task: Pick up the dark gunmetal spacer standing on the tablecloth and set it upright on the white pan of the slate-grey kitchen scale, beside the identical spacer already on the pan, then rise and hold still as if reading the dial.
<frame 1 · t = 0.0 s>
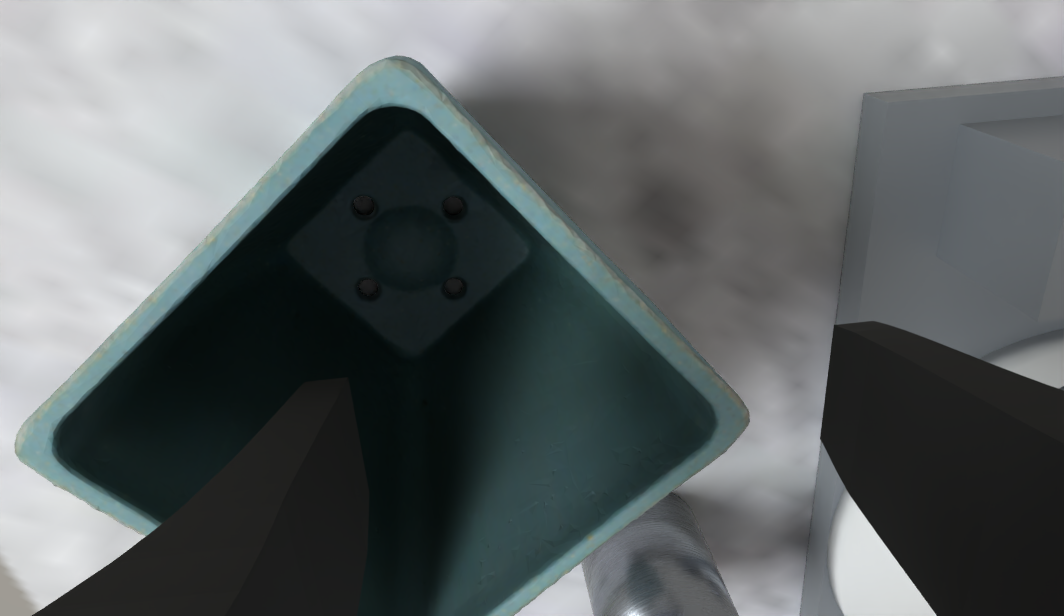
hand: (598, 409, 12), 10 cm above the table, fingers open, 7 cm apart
scale: (1026, 417, 26), on the table
flower pot: (415, 241, 21), on the table
spacer 2: (636, 536, 26), on the table
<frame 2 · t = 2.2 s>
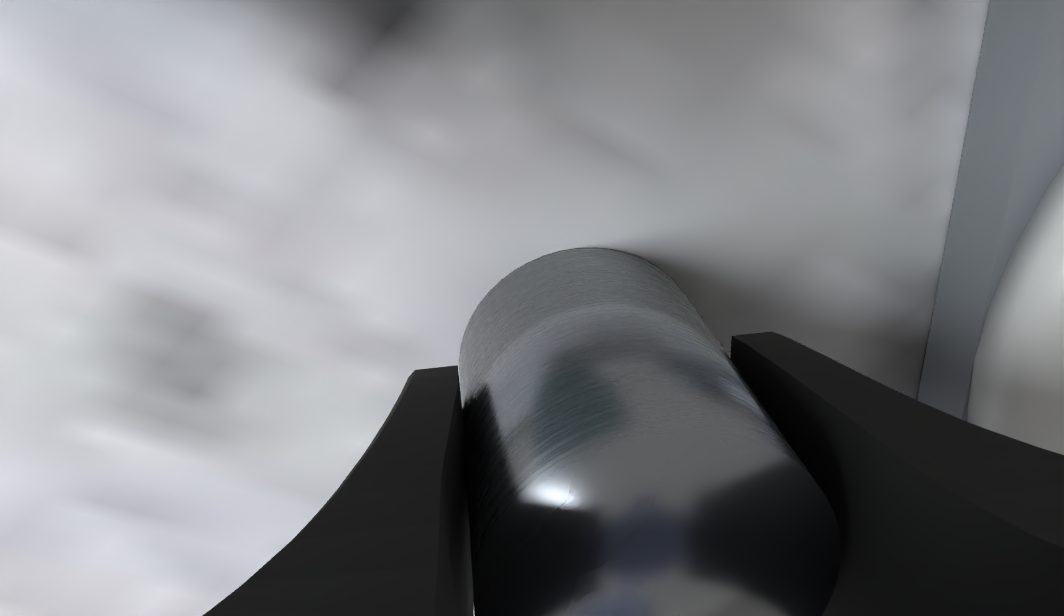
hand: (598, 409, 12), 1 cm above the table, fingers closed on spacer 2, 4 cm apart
spacer 2: (581, 361, 13), on the table, touching gripper
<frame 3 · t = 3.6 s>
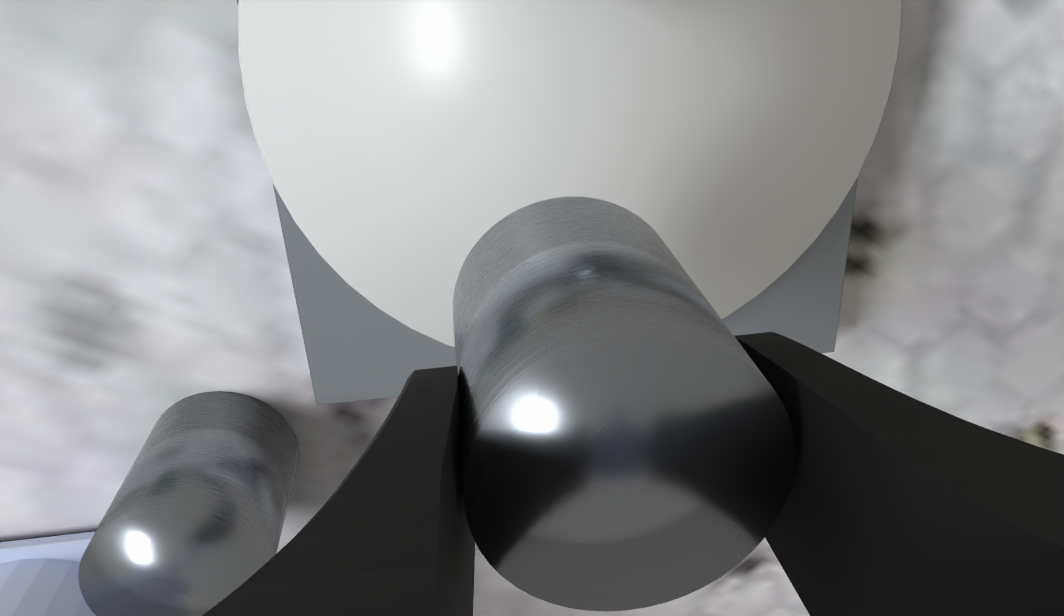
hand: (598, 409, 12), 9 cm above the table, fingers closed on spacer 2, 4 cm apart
spacer 3: (225, 452, 22), on the table
spacer 2: (567, 306, 14), point 7 cm above the table, touching gripper
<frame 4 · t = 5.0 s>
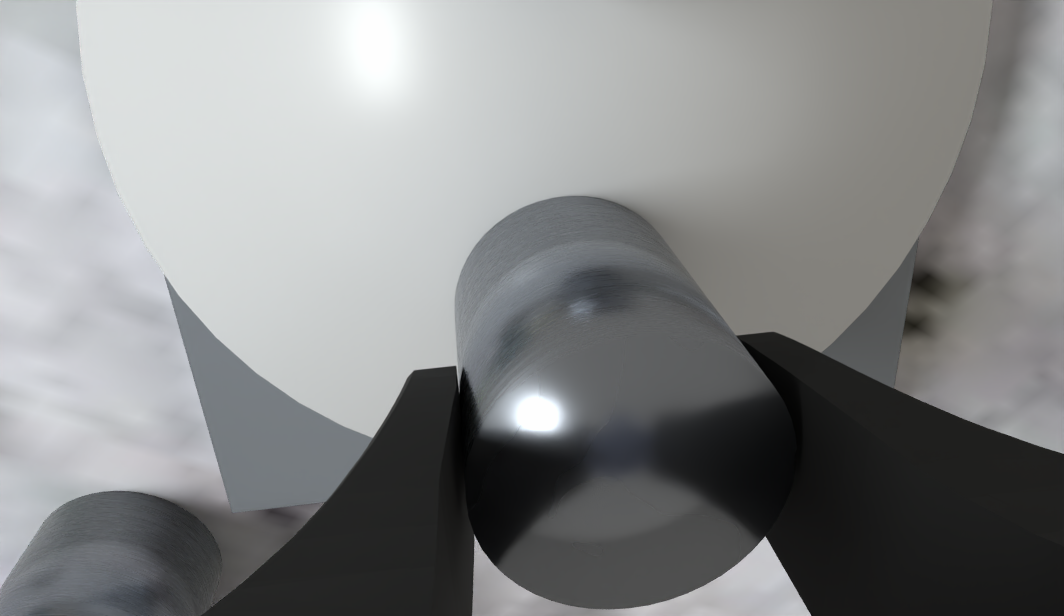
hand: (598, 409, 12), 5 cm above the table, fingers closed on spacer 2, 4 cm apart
spacer 3: (129, 561, 18), on the table
spacer 2: (568, 305, 14), point 2 cm above the table, touching gripper
when the fingers open (5 cm above the table, at t = 5.0 s): spacer 2 stays where it is, resting on scale.
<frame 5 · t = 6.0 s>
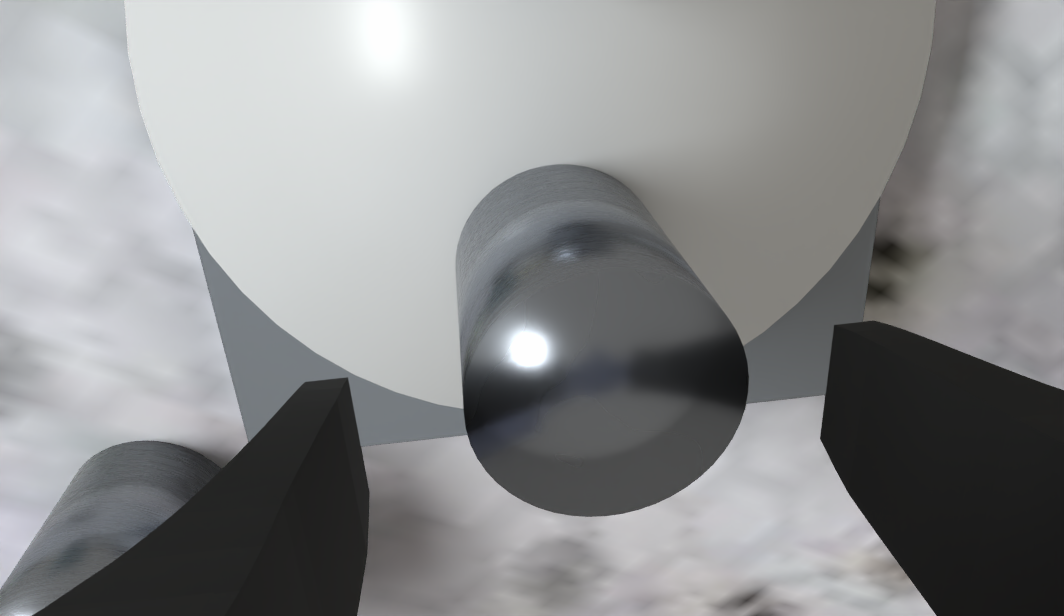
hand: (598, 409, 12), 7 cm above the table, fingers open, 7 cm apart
spacer 3: (157, 507, 20), on the table
spacer 2: (558, 264, 15), point 2 cm above the table, touching scale
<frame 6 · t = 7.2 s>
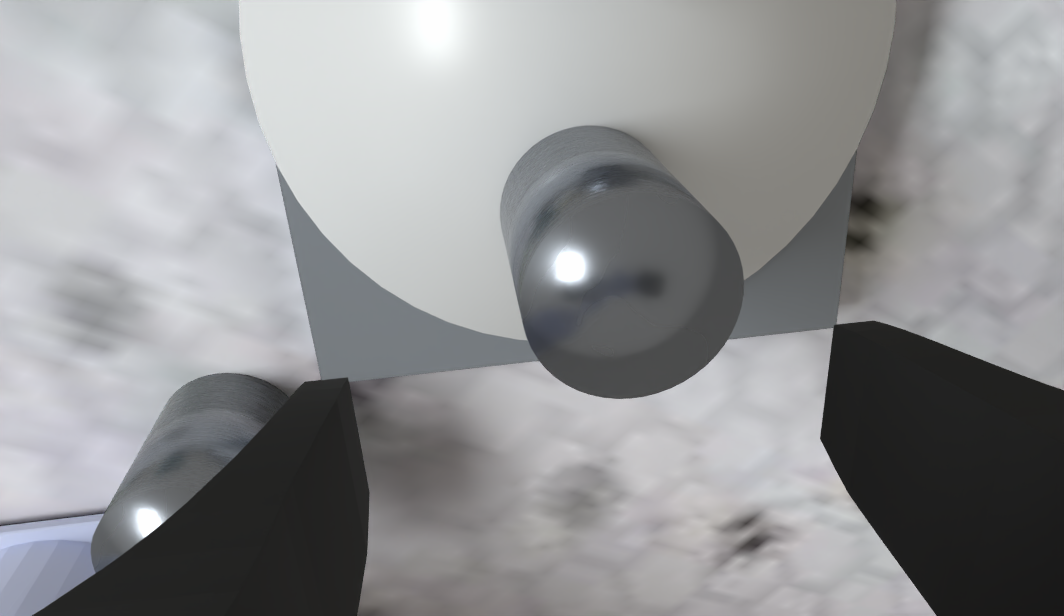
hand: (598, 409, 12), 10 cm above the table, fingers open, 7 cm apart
spacer 3: (234, 433, 23), on the table
spacer 2: (585, 211, 18), point 2 cm above the table, touching scale
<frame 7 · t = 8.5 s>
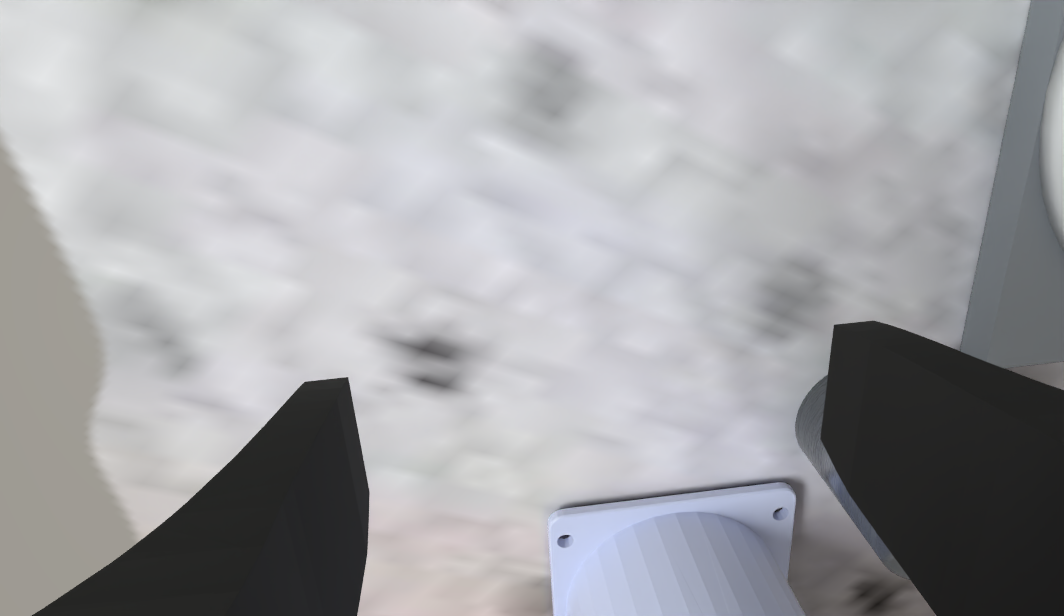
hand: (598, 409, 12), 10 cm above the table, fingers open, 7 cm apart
spacer 3: (856, 415, 25), on the table
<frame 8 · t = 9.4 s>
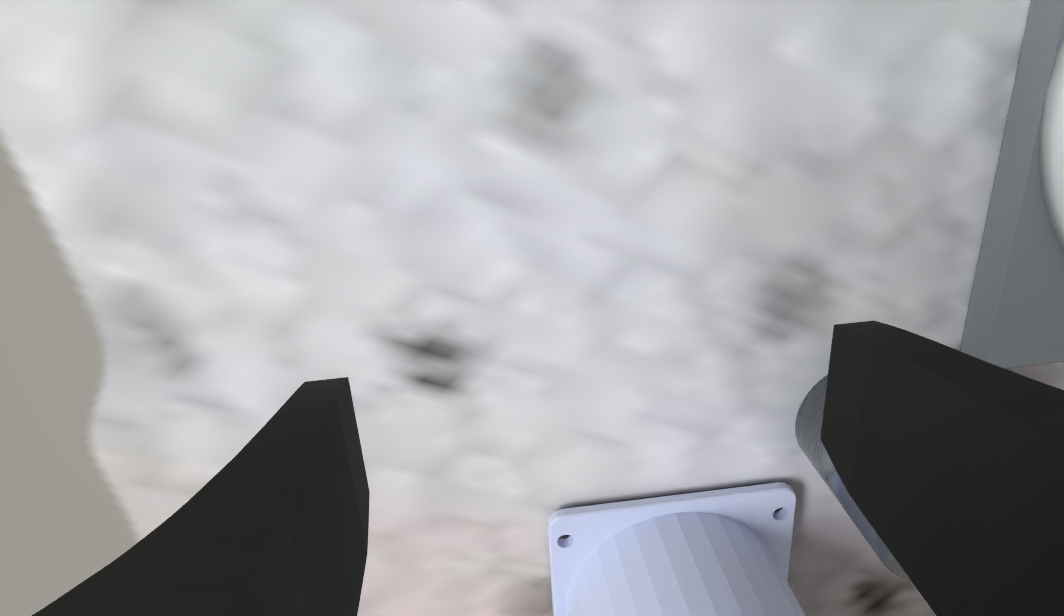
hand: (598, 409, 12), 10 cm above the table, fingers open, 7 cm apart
spacer 3: (856, 415, 25), on the table
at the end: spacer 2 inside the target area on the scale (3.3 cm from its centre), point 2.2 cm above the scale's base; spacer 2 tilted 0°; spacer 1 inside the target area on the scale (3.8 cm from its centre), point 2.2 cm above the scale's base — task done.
